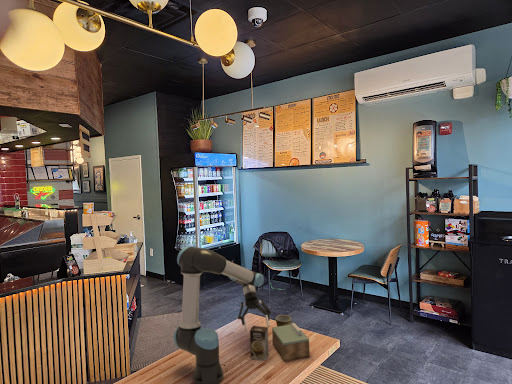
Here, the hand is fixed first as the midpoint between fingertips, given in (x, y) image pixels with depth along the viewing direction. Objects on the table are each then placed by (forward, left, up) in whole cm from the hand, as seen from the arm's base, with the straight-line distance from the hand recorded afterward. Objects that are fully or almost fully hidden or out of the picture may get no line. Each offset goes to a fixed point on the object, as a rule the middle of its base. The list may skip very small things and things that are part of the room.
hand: (257, 328), depth 190 cm
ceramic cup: (+21, +17, -13) cm, 30 cm away
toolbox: (+17, -6, -13) cm, 23 cm away
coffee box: (-1, -6, -13) cm, 15 cm away
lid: (+17, -6, -4) cm, 19 cm away
